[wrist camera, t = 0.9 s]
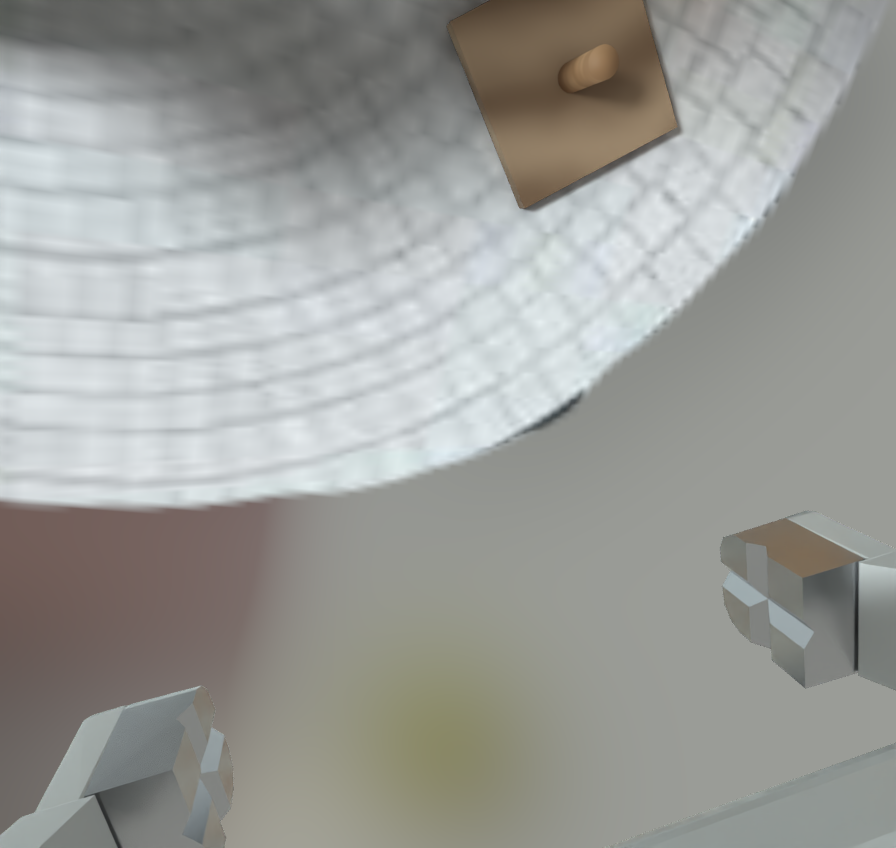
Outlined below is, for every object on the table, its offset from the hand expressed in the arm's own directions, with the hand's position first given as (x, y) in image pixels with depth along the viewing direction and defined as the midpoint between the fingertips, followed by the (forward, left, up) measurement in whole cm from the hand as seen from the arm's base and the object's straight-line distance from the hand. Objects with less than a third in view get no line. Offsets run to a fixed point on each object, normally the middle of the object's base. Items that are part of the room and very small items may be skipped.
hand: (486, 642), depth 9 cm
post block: (-6, +19, -36) cm, 41 cm away
